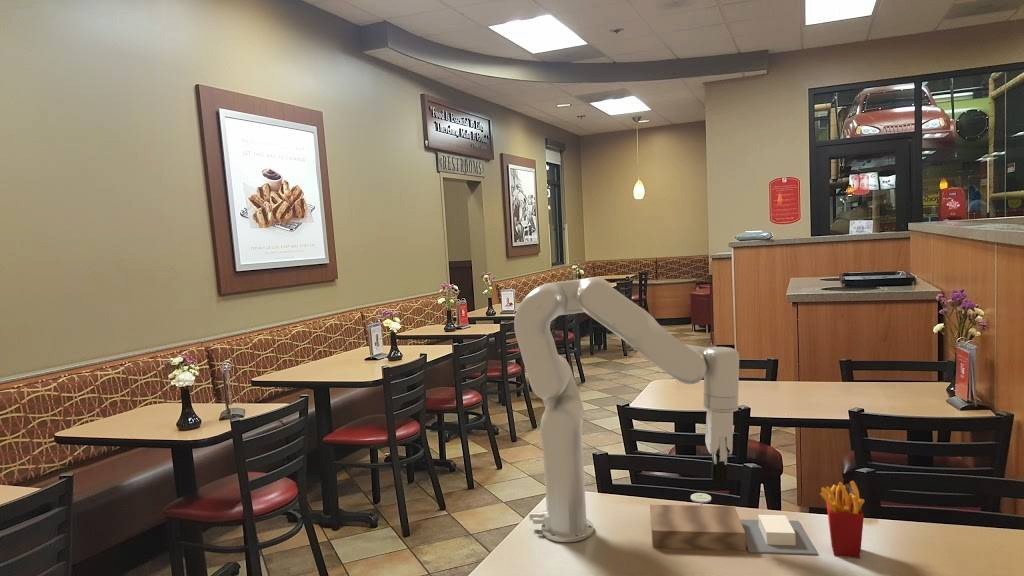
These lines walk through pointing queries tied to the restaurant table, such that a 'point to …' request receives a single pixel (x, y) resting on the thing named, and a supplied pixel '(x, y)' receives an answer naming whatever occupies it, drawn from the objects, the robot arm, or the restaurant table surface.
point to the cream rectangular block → (776, 530)
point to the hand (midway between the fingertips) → (719, 479)
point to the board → (696, 527)
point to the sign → (701, 498)
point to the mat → (758, 545)
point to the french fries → (844, 520)
